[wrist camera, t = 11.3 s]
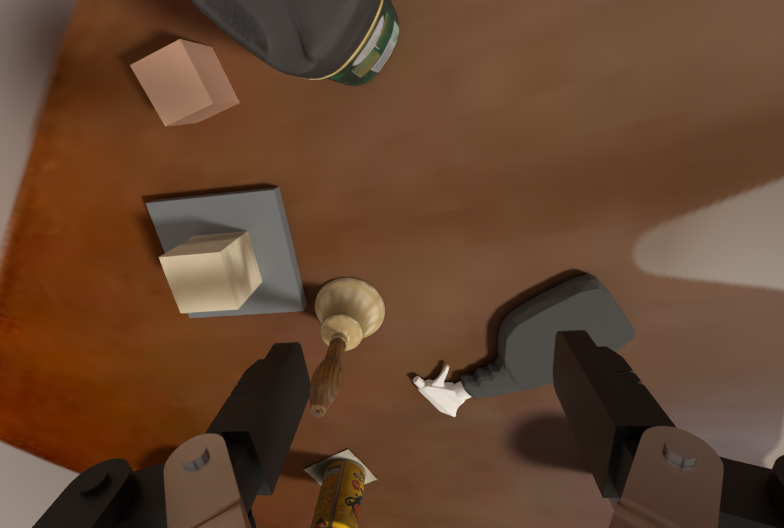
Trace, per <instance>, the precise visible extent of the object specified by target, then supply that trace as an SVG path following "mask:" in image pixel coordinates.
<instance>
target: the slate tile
mask: <svg viewBox="0 0 784 528" xmlns="http://www.w3.org/2000/svg"><path fill="white" fill-rule="evenodd" d="M146 206H147V208H148V211H149V213H150V216H151V219H152V221H153V224H154V226H155V229H156V232H157V234H158V237H159V239H160V242H161V245H162V247H163V250H164V252H165V253H167V252H168V251H170V250H172V249H173V248H175V247H177V246H178V245H180V244H182V243H183V242H185V241H187V240H188V239H190V238H192V237H193V236H196V235H207V234H218V233H229V232H240V231H248V233H249V236H250V240H251V243H252V247H253V251H254V254H255V258H256V261H257V265H258V268H259V272H260V275H261V279H262V283H261V284H260V285H259V286H258V287H257V288H256V290H255V291H254V292H253V293H252V294H251V295H250V296H249V298H248V299H247V300H246V301H245V302H244V303H243V304H242V306H241V307H240V308H239V309H238V310H223V311H208V312H192V313H188V315H189V317H190V318H201V317H216V316H232V315H247V314H263V313H278V312H294V311H304V309H305V307H306V305H307V302H306V297H305V293H304V289H303V285H302V281H301V276H300V272H299V268H298V264H297V259H296V255H295V251H294V247H293V242H292V238H291V234H290V230H289V226H288V221H287V217H286V213H285V209H284V204H283V200H282V196H281V192H280V187H271V188H261V189H252V190H242V191H233V192H223V193H214V194H204V195H194V196H185V197H175V198H166V199H156V200H153V201H150V202H147V203H146Z"/></svg>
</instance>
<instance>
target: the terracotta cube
mask: <svg viewBox="0 0 784 528" xmlns="http://www.w3.org/2000/svg"><path fill="white" fill-rule="evenodd" d="M130 66H131V68H132V70H133V72H134V73H135V75H136V77H137V78H138V80H139V82H140V84H141V85H142V87H143V89H144V91H145V92H146V94H147V96H148V97H149V99H150V101H151V103H152V104H153V106H154V108H155V110H156V111H157V113H158V115H159V116H160V118H161V120H162V122H163V123H164V125H165V126H173V125H183V124H193V123H198V122H200V121H202V120H204V119H207V118H209V117H211V116H213V115H215V114H217V113H220V112H222V111H224V110H226V109H228V108H230V107H232V106H235V105H237V104H239V101H238V99H237V97H236V95H235V93H234V91H233V89H232V87H231V85H230V83H229V81H228V78H227V76H226V74H225V72H224V70H223V68H222V66H221V64H220V62H219V60H218V58H217V56H216V54H215V52H214V50H213V48H212V47H210V46H206V45H202V44H198V43H194V42H190V41H186V40H182V39H179V40H177V41H175V42H173V43H171V44H169V45H167V46H165V47H164V48H162V49H160V50H158V51H156V52H154V53H152V54H150V55H148V56H147V57H145V58H143V59H141V60H139V61H137V62H135V63H133V64H131V65H130Z"/></svg>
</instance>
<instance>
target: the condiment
mask: <svg viewBox="0 0 784 528" xmlns="http://www.w3.org/2000/svg"><path fill="white" fill-rule="evenodd" d="M304 471H305V472H306V473H308V474H309V475H310V476H312V478H314V479H315V480H316V481H317V482H318V483H319V484H320V485H321V489H320V493H319V497H318V501H317V505H316V509H315V513H314V517H313V520H312V524H311V528H358V524H359V517H360V511H361V504H362V496H363V490H364V484H366V483H370V482H371V481H374V480H377V479H376V478H375V477H374V476H373V474H372V473H371V472H370V471H369V470H368V469H367V468H366V467H365V465H364V464H362V462H360V460H359V459H358V458H356V457H355V456H354V455H353V454H352V453H351V452H350V451H349V449H348V450H346V451H343V452H341V453H338V454H336V455H333V456H331V457H329V458H327V459H325V460H323V461H322V462H319V463H317V464H314V465H312V466H310V467H309V468H306V469H304Z"/></svg>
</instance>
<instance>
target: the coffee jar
mask: <svg viewBox="0 0 784 528" xmlns="http://www.w3.org/2000/svg"><path fill="white" fill-rule="evenodd" d="M191 1H192V3H193V4H194V5H195V6H196V7H197V8H198V9H199V10H200V11H201V12H203V13H204V14H205V15H206V16H207V17H208V18H209V19H210V20H212V21H213V22H214V23H215V24H216V25H217V26H218V27H219V28H220V29H222V30H223V31H224V32H225V33H226V34H227V35H229V36H230V37H231V38H232V39H234V40H235V41H236V42H237V43H239V44H240V45H241V46H243V47H244V48H245V49H247V50H248V51H249V52H251V53H252V54H254V55H255V56H257V57H258V58H259V59H261V60H262V61H264V62H265V63H266V64H268V65H270V66H271V67H273V68H274V69H276V70H278V71H280V72H283V73H285V74H289V75H293V76H297V77H300V78H303V79H309V80H319V79H325V78H328V79H331V80H334V81H336V82H339V83H342V84H346V85H350V86H359V85H363V84H365V83H367V82H369V81H370V80H371V79H373V78H374V77H375V76H376V74H377V73H378V72H379V71H380V70H381V68H382V67H383V66H384V64H385V63H386V61H387V60H388V58H389V56H390V55H391V53H392V51H393V49H394V47H395V45H396V42H397V39H398V34H399V22H398V17H397V14H396V11H395V9H394V6H393V4H392V2H391V0H191Z"/></svg>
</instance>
